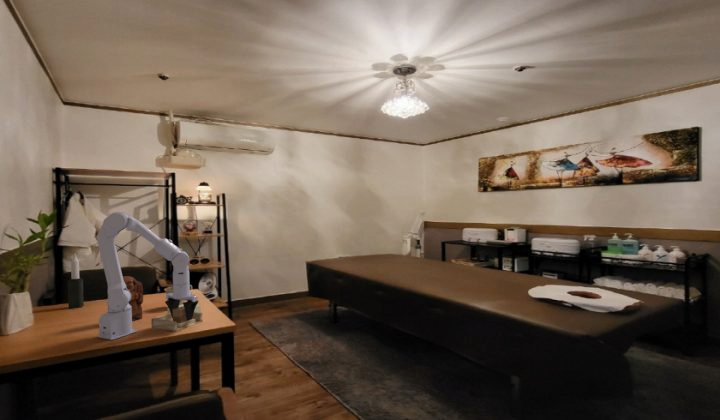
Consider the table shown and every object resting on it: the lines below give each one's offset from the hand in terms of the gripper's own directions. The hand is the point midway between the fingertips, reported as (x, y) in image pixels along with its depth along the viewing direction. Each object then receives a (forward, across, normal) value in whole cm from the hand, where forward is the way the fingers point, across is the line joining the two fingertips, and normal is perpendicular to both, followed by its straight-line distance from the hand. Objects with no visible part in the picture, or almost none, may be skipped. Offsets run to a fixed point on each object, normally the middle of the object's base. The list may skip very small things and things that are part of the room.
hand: (182, 318), depth 142 cm
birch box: (+3, +2, 0) cm, 4 cm away
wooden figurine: (+3, +28, +3) cm, 28 cm away
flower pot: (+3, +26, -19) cm, 32 cm away
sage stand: (+3, +12, -12) cm, 17 cm away
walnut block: (+1, 0, 0) cm, 1 cm away
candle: (+3, +72, -3) cm, 72 cm away
